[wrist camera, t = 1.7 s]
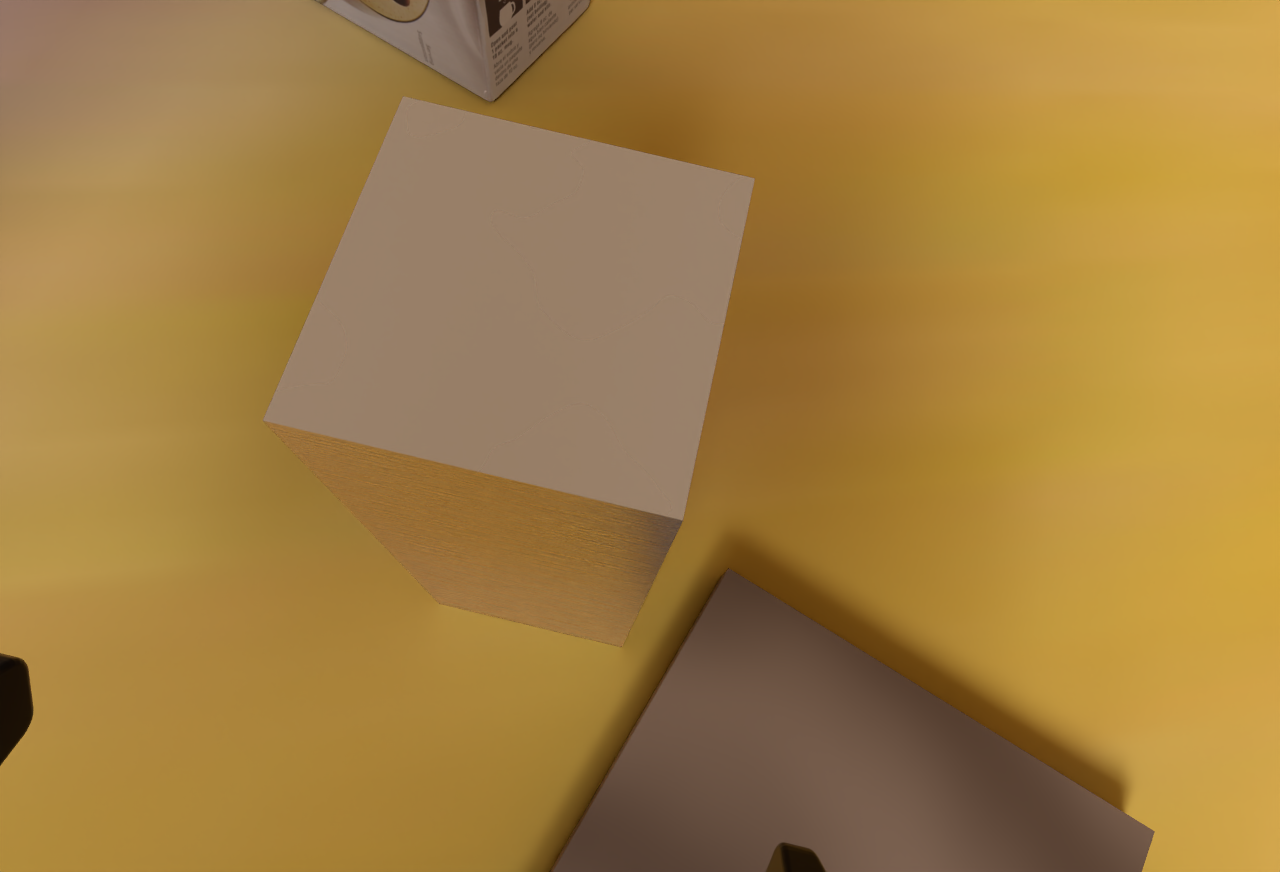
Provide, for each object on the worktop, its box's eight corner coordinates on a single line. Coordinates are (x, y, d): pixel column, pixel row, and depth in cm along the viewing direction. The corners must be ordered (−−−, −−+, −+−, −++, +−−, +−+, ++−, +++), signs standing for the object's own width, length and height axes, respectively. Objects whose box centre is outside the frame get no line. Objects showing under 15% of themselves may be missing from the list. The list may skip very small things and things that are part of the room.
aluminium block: (621, 647, 21) (683, 520, 9) (439, 603, 21) (262, 420, 9) (661, 473, 23) (754, 178, 11) (492, 433, 23) (402, 95, 11)
